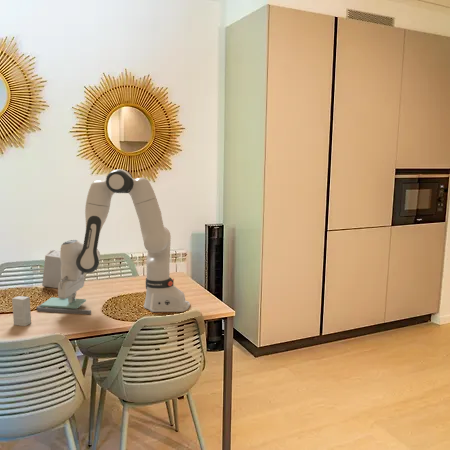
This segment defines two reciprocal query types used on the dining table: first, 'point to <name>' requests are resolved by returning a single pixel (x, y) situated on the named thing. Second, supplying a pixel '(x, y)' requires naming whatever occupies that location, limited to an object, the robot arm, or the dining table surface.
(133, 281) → the dining table surface
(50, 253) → the electrical switch box
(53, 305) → the cover
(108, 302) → the dining table surface
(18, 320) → the skincare box
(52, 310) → the grey flat board
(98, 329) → the dining table surface
